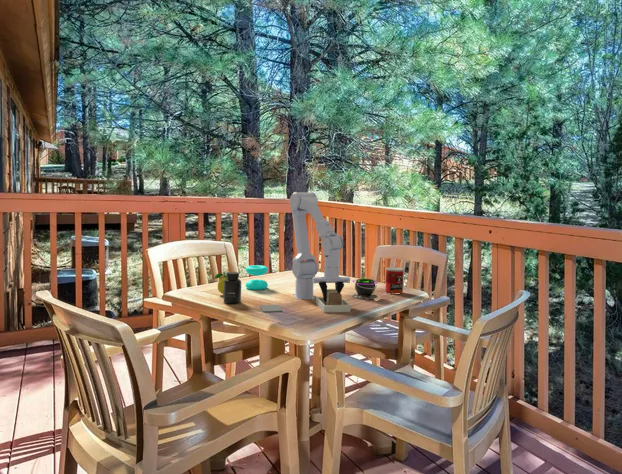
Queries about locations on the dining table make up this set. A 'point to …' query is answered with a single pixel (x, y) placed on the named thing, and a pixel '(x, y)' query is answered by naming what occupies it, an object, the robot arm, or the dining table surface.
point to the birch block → (328, 295)
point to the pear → (221, 282)
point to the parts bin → (333, 306)
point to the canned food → (394, 280)
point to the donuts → (256, 283)
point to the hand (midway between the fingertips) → (330, 301)
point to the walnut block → (335, 299)
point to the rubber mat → (271, 308)
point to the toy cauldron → (365, 288)
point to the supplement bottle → (232, 288)
